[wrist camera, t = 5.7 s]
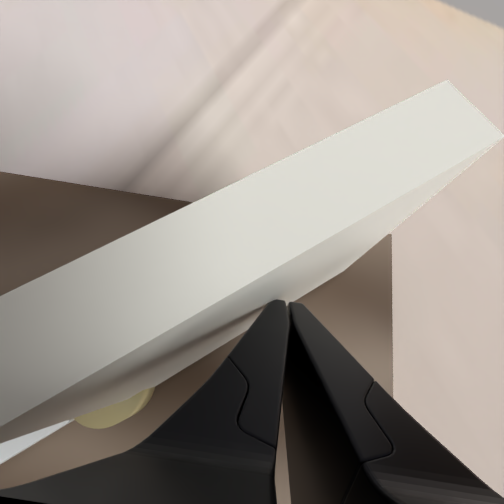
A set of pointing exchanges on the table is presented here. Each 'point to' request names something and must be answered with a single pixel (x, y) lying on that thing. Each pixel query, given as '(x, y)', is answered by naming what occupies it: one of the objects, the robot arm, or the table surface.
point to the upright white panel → (219, 266)
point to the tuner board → (195, 375)
